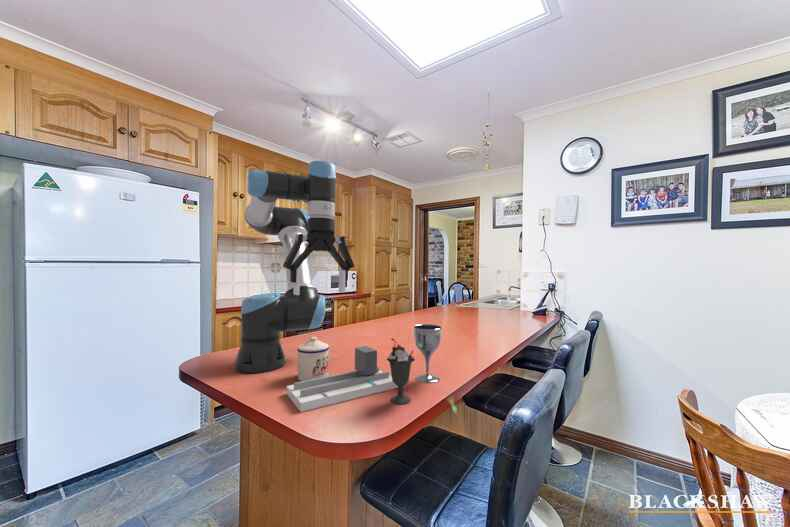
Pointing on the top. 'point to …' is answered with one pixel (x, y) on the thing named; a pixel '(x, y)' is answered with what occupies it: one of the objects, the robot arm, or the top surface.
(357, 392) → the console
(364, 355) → the fader tab
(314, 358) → the teacup with lid
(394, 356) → the sundae
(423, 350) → the wine glass
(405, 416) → the top surface
